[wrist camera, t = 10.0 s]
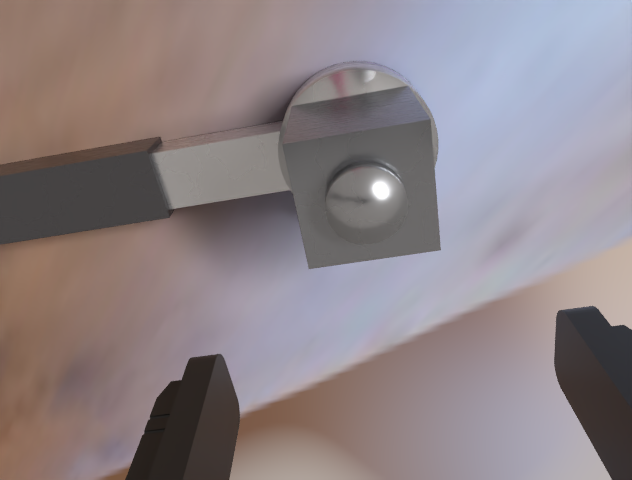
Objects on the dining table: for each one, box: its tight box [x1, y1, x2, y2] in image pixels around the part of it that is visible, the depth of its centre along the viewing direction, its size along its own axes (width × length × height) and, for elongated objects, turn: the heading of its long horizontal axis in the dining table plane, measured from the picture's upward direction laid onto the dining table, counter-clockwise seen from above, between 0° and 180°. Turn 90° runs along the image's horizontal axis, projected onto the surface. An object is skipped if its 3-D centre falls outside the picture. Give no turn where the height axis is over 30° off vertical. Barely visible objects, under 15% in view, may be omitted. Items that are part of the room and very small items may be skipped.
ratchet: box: [0, 61, 438, 244], centre depth 26 cm, size 25×8×6 cm, turn 100°
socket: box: [282, 86, 441, 269], centre depth 23 cm, size 6×6×7 cm
